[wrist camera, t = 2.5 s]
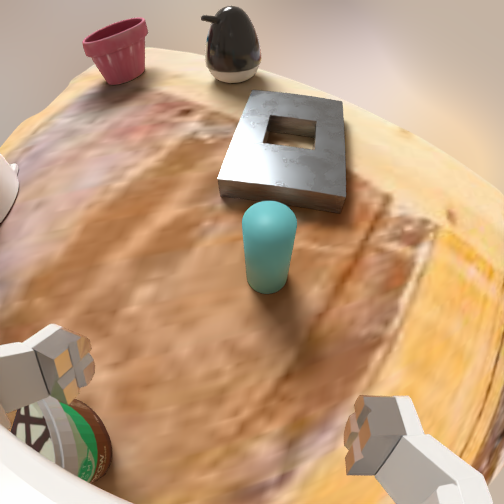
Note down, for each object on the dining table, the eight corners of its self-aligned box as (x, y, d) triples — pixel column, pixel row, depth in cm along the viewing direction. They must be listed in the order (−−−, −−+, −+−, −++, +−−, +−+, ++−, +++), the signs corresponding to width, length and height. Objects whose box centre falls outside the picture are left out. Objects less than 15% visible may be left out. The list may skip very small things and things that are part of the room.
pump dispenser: (198, 76, 51) (189, 8, 38) (244, 63, 53) (241, -2, 40) (221, 95, 46) (214, 16, 33) (272, 80, 49) (273, 7, 36)
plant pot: (91, 81, 55) (76, 38, 44) (142, 57, 59) (132, 15, 48) (106, 98, 49) (88, 46, 38) (165, 70, 53) (155, 19, 42)
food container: (112, 514, 17) (55, 542, 8) (62, 486, 18) (-2, 497, 9) (135, 410, 23) (77, 405, 14) (83, 387, 24) (17, 369, 15)
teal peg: (242, 290, 29) (236, 240, 21) (250, 254, 31) (247, 197, 23) (284, 297, 29) (293, 249, 21) (289, 260, 30) (299, 205, 23)
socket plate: (220, 196, 35) (217, 178, 32) (252, 105, 44) (252, 89, 42) (340, 213, 33) (345, 197, 31) (339, 116, 43) (342, 101, 40)
